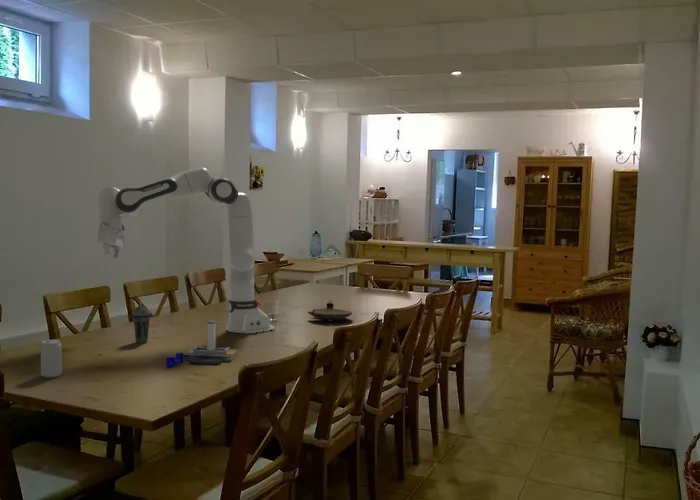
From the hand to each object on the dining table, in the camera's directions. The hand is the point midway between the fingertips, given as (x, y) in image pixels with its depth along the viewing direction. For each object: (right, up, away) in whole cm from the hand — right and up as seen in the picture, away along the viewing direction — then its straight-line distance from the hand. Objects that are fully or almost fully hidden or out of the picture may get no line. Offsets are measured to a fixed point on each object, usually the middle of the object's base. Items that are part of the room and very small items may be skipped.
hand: (112, 256), depth 278 cm
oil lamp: (+92, -33, +59) cm, 114 cm away
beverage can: (0, -40, -56) cm, 69 cm away
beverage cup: (+14, -36, -4) cm, 39 cm away
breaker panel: (+48, -39, -25) cm, 66 cm away
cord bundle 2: (+47, -39, -35) cm, 70 cm away
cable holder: (+36, -40, -37) cm, 66 cm away
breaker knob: (+48, -36, -25) cm, 65 cm away
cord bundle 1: (+48, -38, -15) cm, 63 cm away
